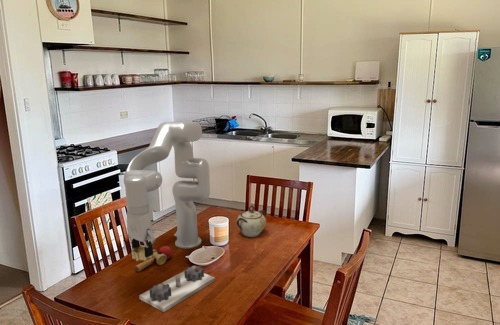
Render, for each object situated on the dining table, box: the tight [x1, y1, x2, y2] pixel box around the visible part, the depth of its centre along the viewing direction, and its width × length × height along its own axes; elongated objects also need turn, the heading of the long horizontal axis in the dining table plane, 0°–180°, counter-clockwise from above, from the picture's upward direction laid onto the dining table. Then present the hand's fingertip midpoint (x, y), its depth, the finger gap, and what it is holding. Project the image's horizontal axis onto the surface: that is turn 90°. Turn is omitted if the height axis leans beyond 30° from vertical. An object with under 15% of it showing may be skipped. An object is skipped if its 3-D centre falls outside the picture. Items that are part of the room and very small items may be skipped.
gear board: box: [138, 265, 216, 313], centre depth 152 cm, size 14×26×6 cm, turn 141°
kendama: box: [134, 245, 173, 273], centre depth 174 cm, size 8×6×18 cm
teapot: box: [236, 205, 267, 238], centre depth 201 cm, size 20×15×15 cm
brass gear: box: [131, 244, 152, 262], centre depth 150 cm, size 7×7×3 cm
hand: (142, 252), depth 150 cm, fingers closed on brass gear, 7 cm apart
